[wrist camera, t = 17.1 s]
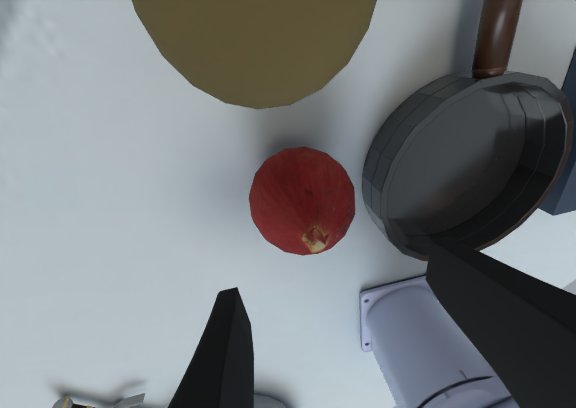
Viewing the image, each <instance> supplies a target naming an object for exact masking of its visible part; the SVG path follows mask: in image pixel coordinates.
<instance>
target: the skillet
mask: <svg viewBox="0 0 576 408" xmlns="http://www.w3.org/2000/svg"><path fill="white" fill-rule="evenodd" d="M573 127H574V118H573V115H572V112H571V109H570V106H569V103H568V100H567V97H566V95H565V94H564V93H563V92H562V91H561V90H559V89H558V88H557V87H556V86H555V85H554V84H553V83H552V82H550V81H549V80H548V79H547V78H544V77H539V76H534V75H529V74H524V73H520V72H509V71H505V72H504V73H503V74H502V75H498V76H491V77H474V76H473V75H472V71H464V72H458V73H454V74H451V75H447V76H445V77H442V78H440V79H438V80H435V81H433V82H431V83H430V84H428V85H426V86H424V87H423V88H421V89H420V90H418V91H417V92H415V93H414V94H413V95H411V96H410V97H409V98H408V99H406V100H405V101H404V102H403V103H402V104H401V105H400V106H399V107H398V108H397V109H396V110H395V111H394V112H393V113H392V114H391V115H390V117H389V118H388V119H387V120H386V122H385V123H384V125H383V126H382V127H381V129H380V130H379V132H378V134H377V135H376V137H375V139H374V141H373V143H372V145H371V147H370V149H369V152H368V155H367V158H366V161H365V164H364V169H363V175H362V193H363V199H364V203H365V206H366V208H367V211H368V213H369V214H370V216H371V219H372V220H373V222H374V223H375V224H376V225H377V227H378V228H379V229H380V230H381V232H382V233H383V234H384V235H385V237H386V238H387V239H388V240H389V241H390V242H391V243H392V244H393V245H394V246H395V247H396V248H397V249H398V250H399V251H401V252H402V253H403V254H405V255H408V256H411V257H414V258H416V259H419V260H422V261H428V258H429V252H430V245H431V240H434V239H438V238H443V237H449V238H451V239H454V240H456V241H458V242H460V243H462V244H465V245H467V246H469V247H471V248H473V249H475V250H477V251H480V250H483V249H485V248H487V247H489V246H491V245H493V244H495V243H497V242H498V241H500V240H501V239H503V238H504V237H505V236H507V235H508V234H510V233H511V232H512V231H514V230H515V229H516V228H518V227H519V226H520V225H522V224H523V223H524V222H525V221H526V220H527V219H528V218H529V216H530V215H531V214H532V213H533V212H534V211H535V210H536V209H537V208H538V207H539V206H540V205H541V204H542V203H543V202H544V200H545V199H546V197H547V196H548V194H549V193H550V191H551V190H552V188H553V187H554V185H555V184H556V182H557V181H558V179H559V178H560V176H561V174H562V171H563V169H564V166H565V164H566V161H567V159H568V156H569V154H570V151H571V148H572V137H573Z"/></svg>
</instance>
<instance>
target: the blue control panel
mask: <svg viewBox="0 0 576 408" xmlns="http://www.w3.org/2000/svg"><path fill="white" fill-rule="evenodd" d="M562 92H563V93H564V94H565V95H566V97H567V100H568V103H569V106H570V109H571V112H572V115H573V118H574V127H573V137H572V148H571V151H570V154H569V156H568V159H567V161H566V164H565V166H564V169H563V171H562V174H561V176H560V178H559V179H558V181H557V182H556V184H555V185H554V187H553V188H552V190H551V191H550V193H549V194H548V196H547V197H546V199H545V200H544V202H543V203H542V204H541V205H540V206H539V207H538V208H539V209H541V210H543V211H545V212H547V213H549V214H551V215H553V216H554V215H558V214H562V213H567V212H571V211H575V210H576V51H575V53H574V56H573V59H572V62H571V65H570V68H569V71H568V74H567V77H566V80H565V83H564V86H563V89H562Z"/></svg>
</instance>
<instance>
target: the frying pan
mask: <svg viewBox="0 0 576 408" xmlns="http://www.w3.org/2000/svg"><path fill="white" fill-rule="evenodd" d="M144 396H145V393H143V394H140V395H136V396H133V397H130V398H126V399H123V400H121V401H120V402H119V403H118V404H117V405H116V406H115V407H114V408H128V407H131V406H135V405H138V404H141V403H143V400H144ZM52 408H94V407H92V406H83V405H78V404H73V401H72V399H70V398H69V396H67V397H66V398H62V399H60V400H58V401H57V402H56V403H55V404H54V405H53V407H52ZM254 408H286V407H285V406H284V404H283V403H282V402H280V401H278V400H275V399H273V398H271V397H269V396H262V395H255V394H254Z"/></svg>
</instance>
